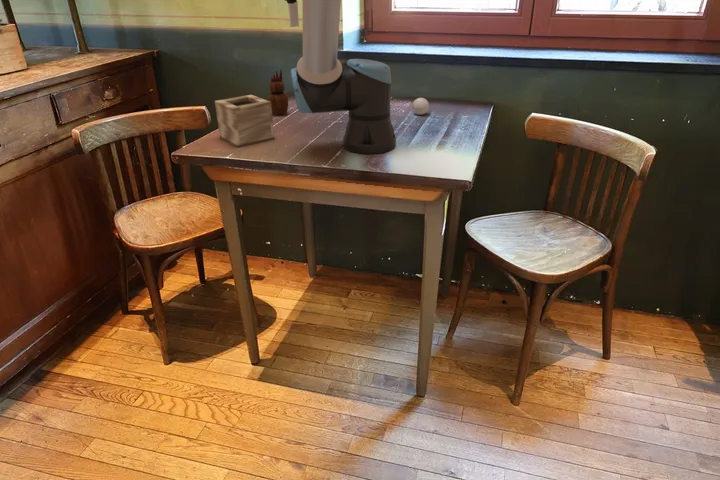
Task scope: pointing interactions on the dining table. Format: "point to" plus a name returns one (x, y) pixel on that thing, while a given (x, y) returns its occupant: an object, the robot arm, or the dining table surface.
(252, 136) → the drop box
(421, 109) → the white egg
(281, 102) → the wooden figurine
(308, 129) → the dining table surface
